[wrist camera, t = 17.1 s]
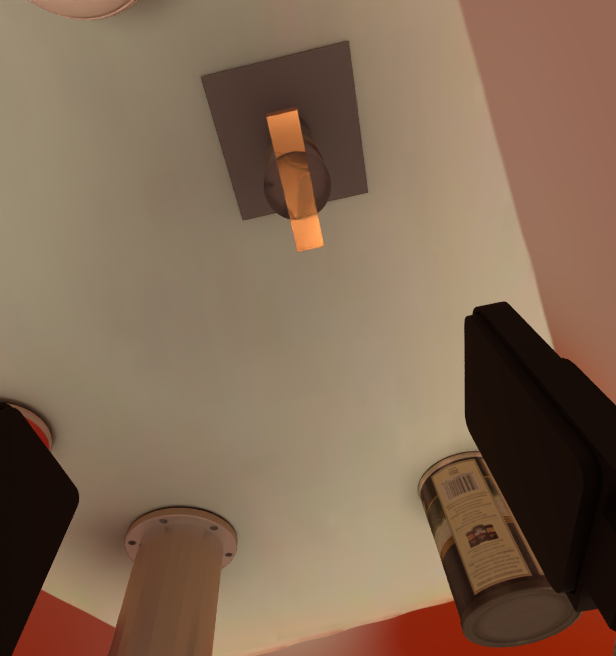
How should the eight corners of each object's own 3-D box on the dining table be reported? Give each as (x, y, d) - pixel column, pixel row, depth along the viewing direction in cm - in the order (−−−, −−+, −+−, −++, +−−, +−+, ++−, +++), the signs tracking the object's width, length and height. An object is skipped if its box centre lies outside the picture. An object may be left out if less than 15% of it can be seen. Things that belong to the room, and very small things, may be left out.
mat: (367, 191, 31) (368, 192, 30) (243, 218, 31) (242, 220, 31) (347, 41, 26) (348, 40, 26) (201, 76, 26) (200, 77, 26)
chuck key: (302, 85, 27) (318, 105, 16) (319, 177, 30) (341, 242, 19) (257, 95, 27) (245, 121, 17) (279, 186, 30) (280, 255, 20)
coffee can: (462, 520, 53) (517, 657, 41) (398, 493, 49) (438, 634, 37) (528, 471, 48) (610, 607, 37) (464, 437, 45) (531, 576, 33)
